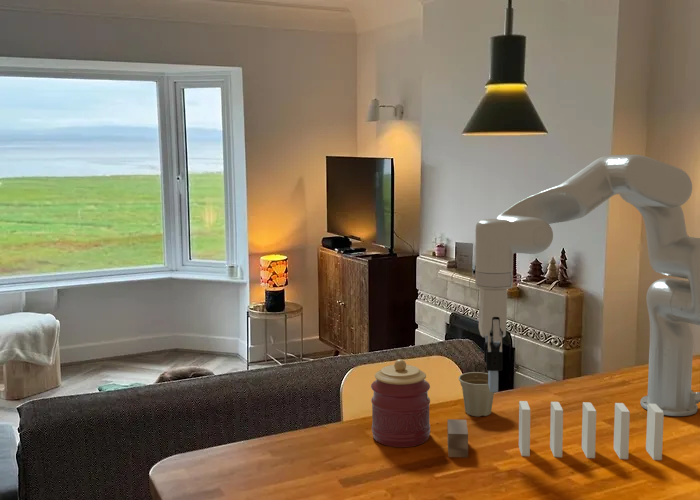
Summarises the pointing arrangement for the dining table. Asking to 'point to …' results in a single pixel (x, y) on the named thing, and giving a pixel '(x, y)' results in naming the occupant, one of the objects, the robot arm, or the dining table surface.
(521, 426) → the tile
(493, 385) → the tile
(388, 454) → the dining table surface
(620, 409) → the tile
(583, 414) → the tile
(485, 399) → the flower pot
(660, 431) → the tile
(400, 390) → the canister
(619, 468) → the dining table surface
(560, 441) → the tile
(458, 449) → the end block
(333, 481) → the dining table surface
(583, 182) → the robot arm
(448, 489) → the dining table surface
